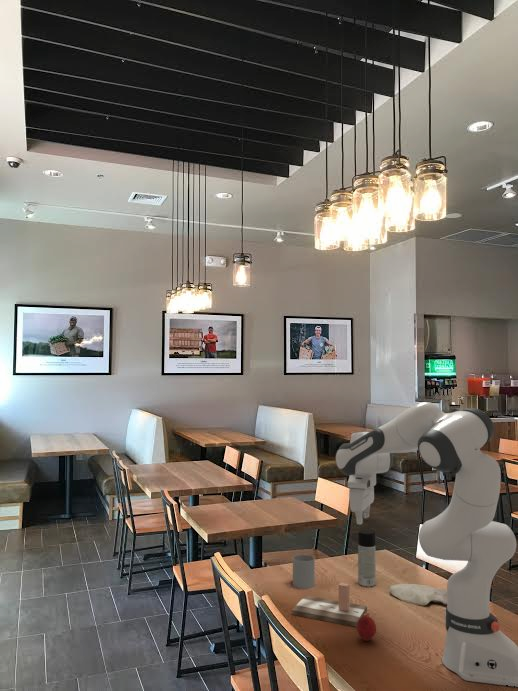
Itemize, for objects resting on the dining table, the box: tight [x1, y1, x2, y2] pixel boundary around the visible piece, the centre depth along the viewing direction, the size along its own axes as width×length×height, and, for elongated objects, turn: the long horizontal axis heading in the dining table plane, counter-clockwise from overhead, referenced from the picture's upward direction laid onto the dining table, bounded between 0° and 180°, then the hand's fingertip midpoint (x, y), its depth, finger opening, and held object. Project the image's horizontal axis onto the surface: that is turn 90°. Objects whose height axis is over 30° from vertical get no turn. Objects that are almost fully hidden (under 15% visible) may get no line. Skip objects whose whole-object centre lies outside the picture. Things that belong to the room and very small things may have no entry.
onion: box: [356, 612, 377, 642], centre depth 165 cm, size 6×6×8 cm
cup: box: [292, 554, 316, 590], centre depth 212 cm, size 8×8×10 cm
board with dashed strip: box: [291, 595, 368, 628], centre depth 185 cm, size 22×14×2 cm, turn 66°
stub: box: [338, 582, 350, 611], centre depth 183 cm, size 3×2×8 cm
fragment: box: [389, 583, 447, 607], centre depth 198 cm, size 15×20×5 cm
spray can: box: [357, 529, 377, 588], centre depth 213 cm, size 7×7×20 cm
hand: (362, 520), depth 185 cm, fingers open, 8 cm apart
